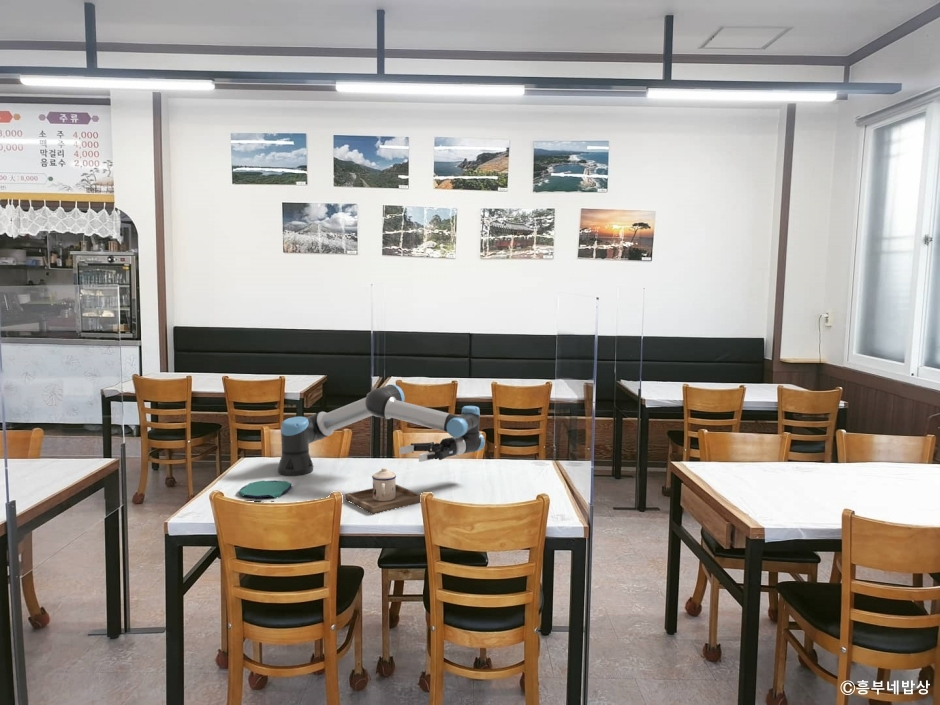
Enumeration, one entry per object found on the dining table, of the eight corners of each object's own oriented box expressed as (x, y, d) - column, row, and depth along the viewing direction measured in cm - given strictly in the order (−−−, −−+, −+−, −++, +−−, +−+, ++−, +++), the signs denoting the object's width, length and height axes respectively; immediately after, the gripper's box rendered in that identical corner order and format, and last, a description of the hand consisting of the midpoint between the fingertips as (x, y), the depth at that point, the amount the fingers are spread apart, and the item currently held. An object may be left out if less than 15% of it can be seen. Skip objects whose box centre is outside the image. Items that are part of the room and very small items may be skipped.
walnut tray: (345, 500, 245) (345, 494, 245) (393, 489, 259) (393, 483, 259) (372, 514, 230) (372, 507, 230) (422, 501, 244) (422, 495, 244)
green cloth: (298, 485, 265) (298, 479, 265) (271, 511, 235) (271, 504, 235) (252, 484, 266) (251, 479, 266) (219, 510, 237) (218, 504, 236)
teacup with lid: (373, 494, 250) (373, 465, 249) (396, 494, 251) (396, 465, 250) (370, 504, 238) (370, 473, 237) (395, 504, 239) (394, 473, 238)
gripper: (471, 462, 254) (428, 471, 241) (433, 449, 273) (391, 457, 260) (471, 443, 254) (428, 451, 240) (434, 432, 273) (392, 438, 259)
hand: (409, 454), depth 250 cm, fingers open, 13 cm apart
